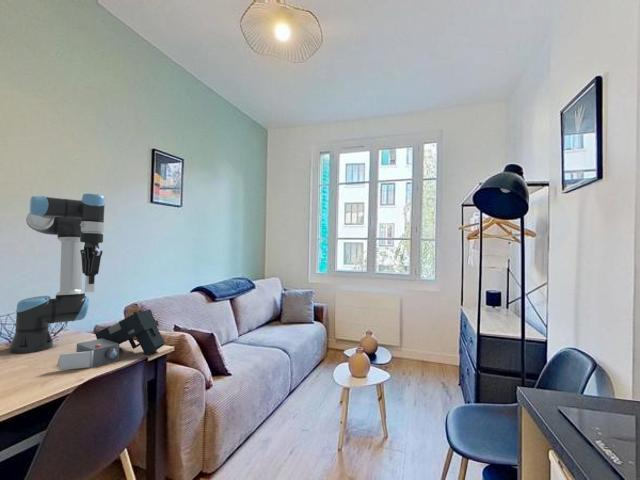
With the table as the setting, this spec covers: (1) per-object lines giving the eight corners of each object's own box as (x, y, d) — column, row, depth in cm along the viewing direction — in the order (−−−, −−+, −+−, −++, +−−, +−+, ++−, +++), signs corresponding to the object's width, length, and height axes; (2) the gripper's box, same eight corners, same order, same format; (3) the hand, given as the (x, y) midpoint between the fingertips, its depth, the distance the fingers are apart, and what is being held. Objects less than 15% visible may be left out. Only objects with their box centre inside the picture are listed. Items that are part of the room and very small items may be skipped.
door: (93, 365, 133) (94, 349, 133) (92, 367, 131) (93, 351, 131) (58, 369, 128) (59, 352, 129) (57, 371, 127) (58, 354, 127)
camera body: (75, 360, 139) (76, 341, 139) (101, 354, 148) (102, 336, 148) (95, 368, 131) (96, 348, 131) (121, 361, 140) (122, 342, 140)
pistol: (154, 350, 146) (138, 309, 148) (107, 372, 151) (92, 331, 153) (168, 344, 156) (153, 305, 158) (124, 365, 160) (109, 327, 162)
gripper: (73, 232, 132) (70, 291, 132) (89, 232, 126) (86, 294, 125) (94, 233, 139) (91, 289, 138) (110, 233, 132) (107, 292, 131)
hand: (89, 291), depth 132 cm, fingers closed
